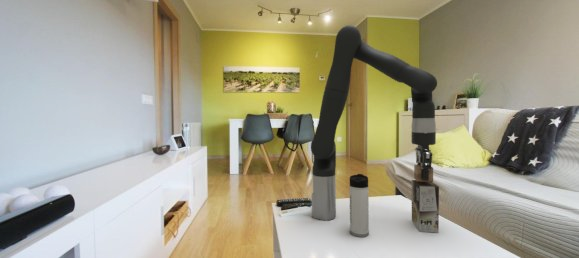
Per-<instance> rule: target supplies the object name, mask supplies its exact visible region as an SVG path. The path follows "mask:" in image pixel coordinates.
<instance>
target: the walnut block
mask: <svg viewBox="0 0 579 258" xmlns="http://www.w3.org/2000/svg"><path fill="white" fill-rule="evenodd" d="M413 166H414V168H413V173H414V174H413V178H414V180H416V181H421V182H433V183H434V167H433V166H431V169H430V170H429V180H422V179H421V165H417V164H414V165H413Z"/></svg>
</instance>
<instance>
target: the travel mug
mask: <svg viewBox="0 0 579 258" xmlns="http://www.w3.org/2000/svg"><path fill="white" fill-rule="evenodd" d="M369 200H370V199H369V177H368V176H367V175H364V174H363V173H357V174H353V175H350V176H349V233H350V235H352V236H354V237H358V238H365V237H368V236H369V234H370V233H369V232H370V231H369V227H370V226H369V224H370V223H369V222H370V221H369V220H370V218H369V217H370V215H369V213H370V211H369V207H370V206H369Z"/></svg>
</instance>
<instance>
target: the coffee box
mask: <svg viewBox="0 0 579 258" xmlns="http://www.w3.org/2000/svg"><path fill="white" fill-rule="evenodd" d="M439 208H440V186H439V185H437V184H436V183H434V181H433V182H421V181H416V179H411V221H412V223H413V224H414V226H415V227H416V229H417V230H418V232H423V233H424V232H426V233H439V231H440V229H439V226H440V225H439V224H440V223H439V222H440V221H439V218H440V216H439V215H440V214H439V211H440V209H439Z"/></svg>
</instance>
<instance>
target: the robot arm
mask: <svg viewBox="0 0 579 258" xmlns="http://www.w3.org/2000/svg"><path fill="white" fill-rule="evenodd" d="M334 41H335V43H334V44H335V45H334V50H333V57H332V58H333V59H332V62H331V67H330V70H329V73H328V76H327V79H326V82H325V83H326V84H325V86H324V91H323V95H322V101H321V106H320V110H319V111H320V112H319V116H318V117H319V118H318V123H317V127H316V129H315V133H314V135H313V138H312V140H311V144H310V150H311V153H312V155H313V165H312V193H311V217H312V218H315V219H316V220H319V221H320V220H321V221H330V220H333V219H335V218H336V216H337V199H336V198H337V197H336V194H337V193H336V189H337V188H336V167H337V166H336V165H337V148H336V147H337V145H336V141H335V139H336V132H337V128H338V124H339V122H340V120H341V117H342V115H343V112H344V110H345V106H346V104H347V101H348V100H347V99H348V96H349V91H350V86H351V75H352V74H351V73H352V67H353V66H352V65H353V62H354V59H355V60H358V61H360V62H363V63H365V64H366V65H369V66H370V67H372V68H374V69H375V70H377V71H378V72H380V73H382V74H384V75H385V76H386V77H389V78H390V79H392V80H394V81H395V82H397V83H402V84H404V85H406V86H408V87H410V95H411V103H412V110H411V111H412V113H411V115H412V116H411V117H412V119H411V144H412V145H416V146H417V147H415V163H416V165H421V179H422V180H429V170H430V169H431V167H432V162H433V161H432V159H433V153H432V150H431V149H430V146H433V145H436V144H437V143H436V141H437V139H436V136H437V135H436V132H437V131H436V130H437V127H436V126H437V125H436V108H435V107H436V106H435V103H434V102H433V92H434V91H435V90H436V89H437V87H438V79H437V78H436V76H434V74H432V73H431V72H429V71H426V70H424V69H422V68H419V67H417V66H413V65H411V64H410V63H408V62H406V61H404V60H402V59H401V58H399V57H397V56H396V55H393V54H390V53H387V52H386V51H385V52H384V51H382V50H379V49H377V48H375V47H372V46H371V45H370V44H368V43H367V42H366V41H364V40H363V38H362V35H361V32H360V30H359V29H358V28H357V26H354V25H352V24H350V25H349V24H348V25H345V26H343V27H342V28H340V29H339V31H338V32H337V34H336V36H335V40H334Z"/></svg>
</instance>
